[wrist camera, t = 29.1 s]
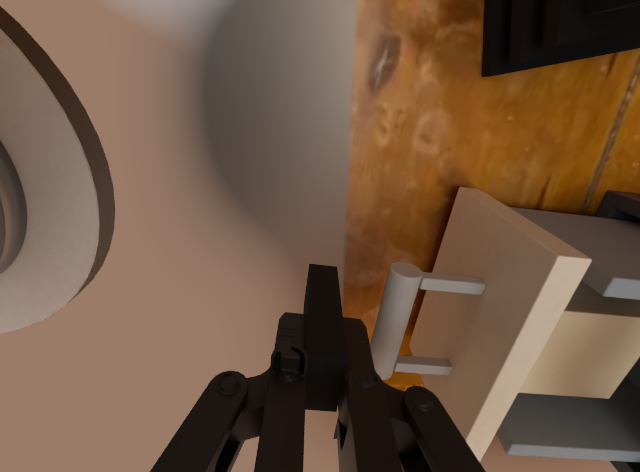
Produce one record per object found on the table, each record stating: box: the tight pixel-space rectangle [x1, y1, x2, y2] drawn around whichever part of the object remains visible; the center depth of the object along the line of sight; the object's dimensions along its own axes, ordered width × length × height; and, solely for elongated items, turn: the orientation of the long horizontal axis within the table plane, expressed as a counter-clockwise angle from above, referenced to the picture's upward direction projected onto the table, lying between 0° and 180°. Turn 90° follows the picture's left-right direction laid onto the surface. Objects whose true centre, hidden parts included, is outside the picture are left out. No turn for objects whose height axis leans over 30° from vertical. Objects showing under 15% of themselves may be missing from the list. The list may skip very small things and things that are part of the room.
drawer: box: [370, 187, 640, 462], centre depth 17 cm, size 18×11×8 cm, turn 83°
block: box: [518, 281, 640, 399], centre depth 17 cm, size 5×5×5 cm
